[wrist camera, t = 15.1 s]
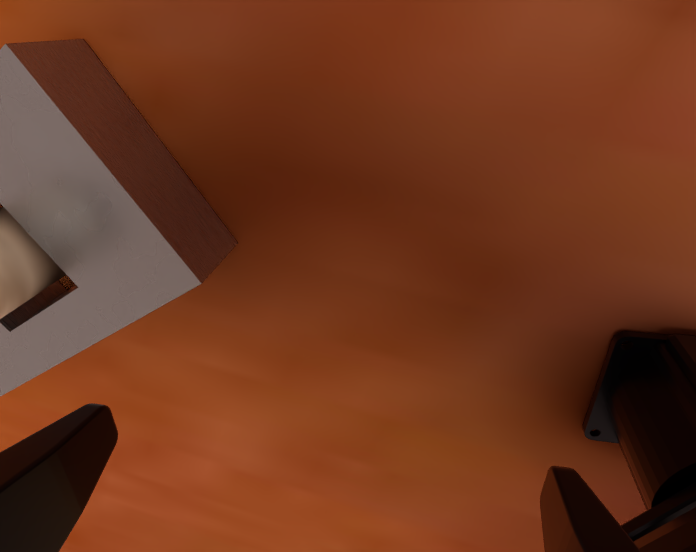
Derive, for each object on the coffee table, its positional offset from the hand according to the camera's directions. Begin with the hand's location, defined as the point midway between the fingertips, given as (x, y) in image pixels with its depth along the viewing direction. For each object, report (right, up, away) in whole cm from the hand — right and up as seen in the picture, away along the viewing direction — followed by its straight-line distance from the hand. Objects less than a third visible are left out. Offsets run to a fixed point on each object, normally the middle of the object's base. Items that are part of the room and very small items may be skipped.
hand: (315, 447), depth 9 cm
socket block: (-14, +6, +15) cm, 21 cm away
